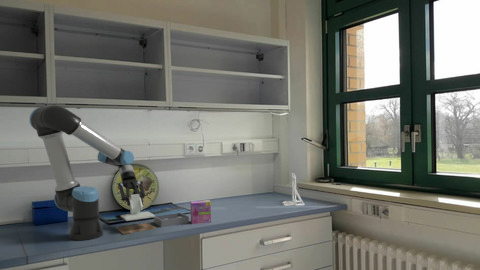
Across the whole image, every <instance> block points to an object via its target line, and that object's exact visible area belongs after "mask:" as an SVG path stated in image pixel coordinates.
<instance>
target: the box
mask: <svg viewBox="0 0 480 270" xmlns="http://www.w3.org/2000/svg"><path fill="white" fill-rule="evenodd" d="M211 205H212V202H211V200H210V199H206V200H205V199H204V200H193V201H190V223H191V224H192V225H198V224H209V223H212V206H211Z"/></svg>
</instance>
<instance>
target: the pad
mask: <svg viewBox="0 0 480 270" xmlns="http://www.w3.org/2000/svg"><path fill="white" fill-rule="evenodd" d="M115 228H116V230H117V231H118V232H119V233H121V235H129V234H130V235H131V234H132V233H137V232H144V231H150V230H156V229H158V228H157V227H156V226H154V225H152V224H151V223H149V222H144V223H139V224H132V225H125V226H119V227H115Z"/></svg>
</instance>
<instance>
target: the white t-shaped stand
mask: <svg viewBox="0 0 480 270" xmlns="http://www.w3.org/2000/svg"><path fill="white" fill-rule="evenodd" d="M129 198H131V201H132V205H133V211H132V212H131V210H130V213H126V214H120V218H122V219H123V220H125V221H126V222H128V221H135V220H136V221H137V220H142V219H143V220H144V219H148V218H149V219H150V218H154V217H155V216H156V214H154V213H152V212H150V211H141V209H140V195H139V194H136V193H135V194H129Z"/></svg>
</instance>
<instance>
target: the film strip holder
mask: <svg viewBox="0 0 480 270" xmlns="http://www.w3.org/2000/svg"><path fill="white" fill-rule="evenodd" d="M297 198H298V200H297ZM282 205H283V206H286V207H289V206H291V207H292V206H293V207H294V206H295V207H297V206H299V207H301V206H305V205H306V203H304V201H303V199H302V198H301V196H300V194H299V192H298V189H297V175H296V174H295V172H291V200H289V201H287V200H286V201H285V200H284V201H282Z"/></svg>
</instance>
